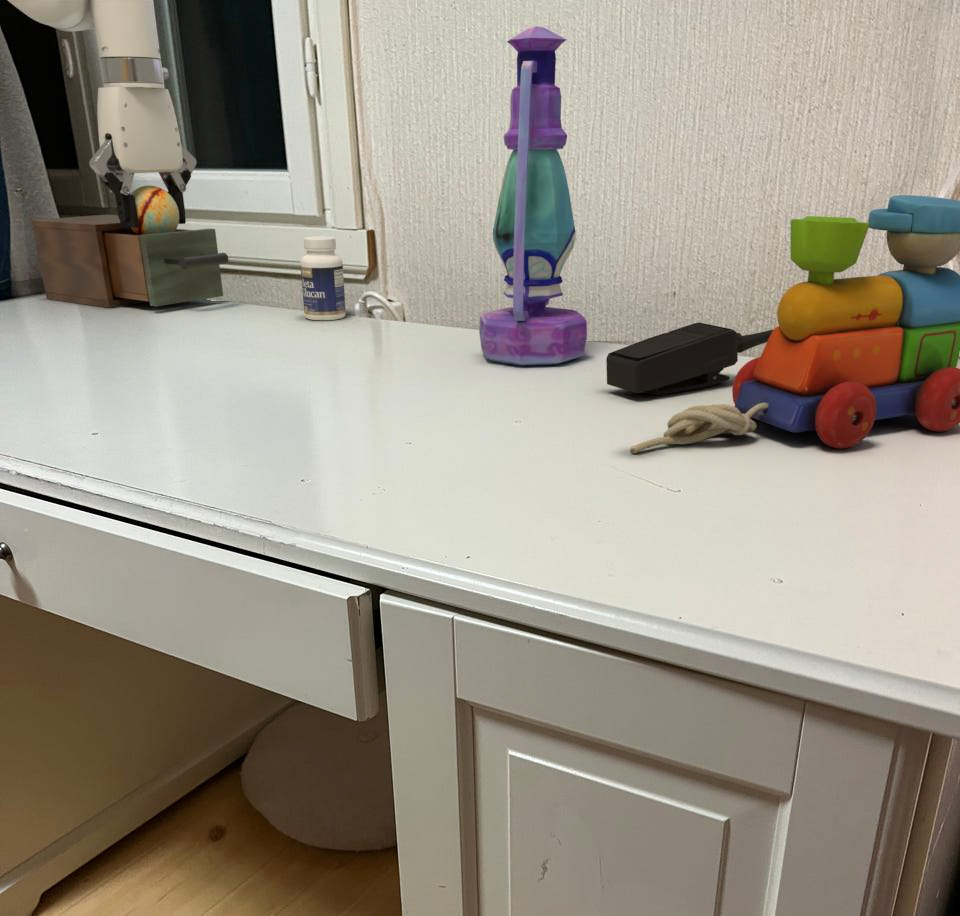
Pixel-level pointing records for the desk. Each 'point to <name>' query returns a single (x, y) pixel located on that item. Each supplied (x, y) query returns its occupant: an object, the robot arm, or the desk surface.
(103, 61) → the robot arm
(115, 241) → the drawer
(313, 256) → the pill bottle
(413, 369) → the desk surface
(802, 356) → the toy train
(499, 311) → the lantern
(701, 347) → the walkie-talkie
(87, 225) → the cabinet
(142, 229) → the ball
